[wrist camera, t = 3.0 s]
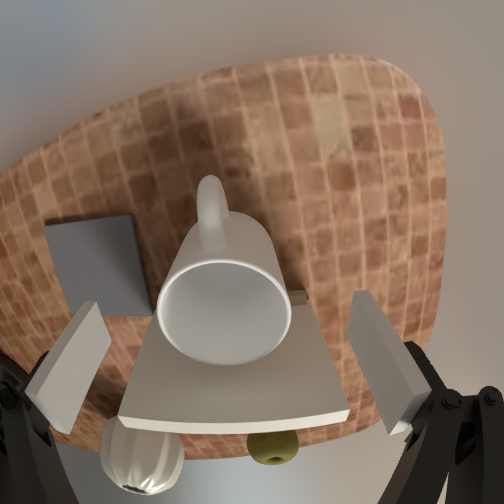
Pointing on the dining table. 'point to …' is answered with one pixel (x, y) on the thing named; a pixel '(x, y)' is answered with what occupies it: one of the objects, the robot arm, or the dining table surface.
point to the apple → (273, 446)
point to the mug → (224, 287)
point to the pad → (100, 265)
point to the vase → (140, 457)
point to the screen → (237, 385)
